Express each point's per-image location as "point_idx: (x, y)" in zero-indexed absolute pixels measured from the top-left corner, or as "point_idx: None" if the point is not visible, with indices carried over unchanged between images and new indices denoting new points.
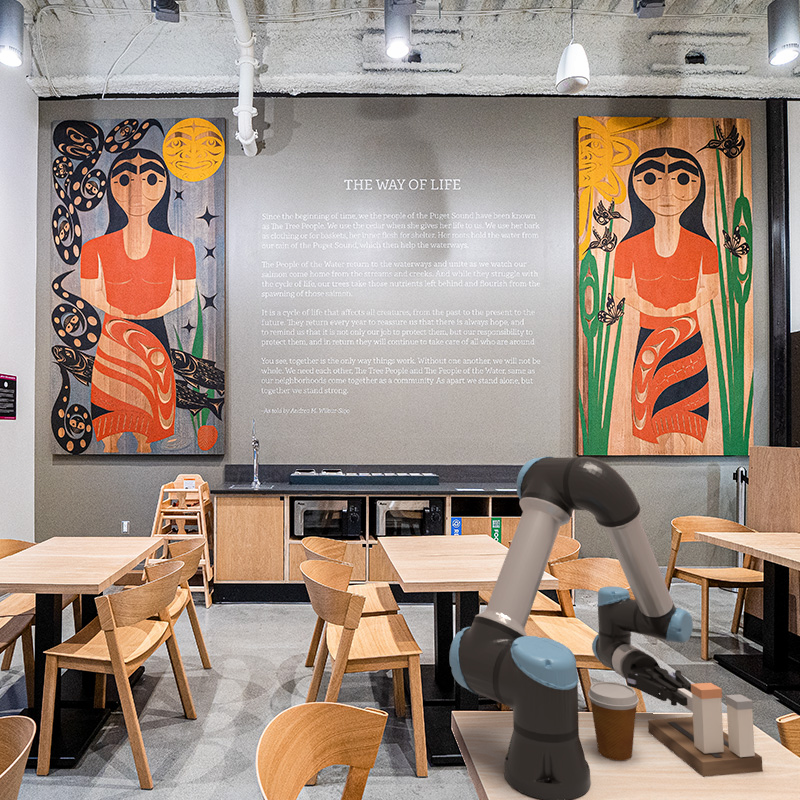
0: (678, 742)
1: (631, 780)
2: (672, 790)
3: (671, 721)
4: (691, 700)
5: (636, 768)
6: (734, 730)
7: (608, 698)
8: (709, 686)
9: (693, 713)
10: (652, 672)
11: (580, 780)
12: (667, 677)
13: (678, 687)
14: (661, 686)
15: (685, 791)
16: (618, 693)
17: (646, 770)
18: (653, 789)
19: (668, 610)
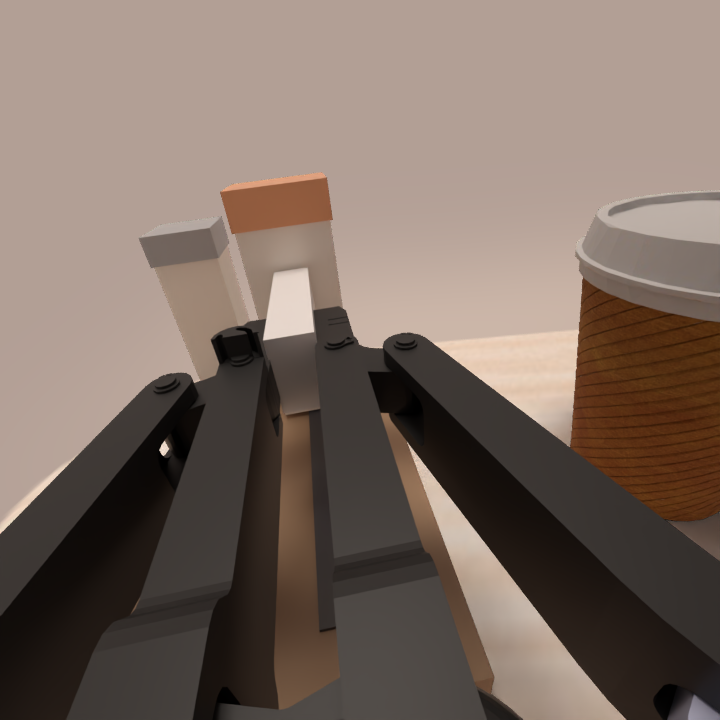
0: (396, 428)
1: (559, 360)
2: (466, 345)
3: (329, 652)
4: (311, 295)
5: (549, 397)
6: (245, 320)
7: (717, 195)
8: (262, 182)
9: (341, 300)
10: (391, 718)
11: None
12: (195, 579)
13: (264, 392)
14: (410, 357)
15: (440, 345)
16: (695, 219)
17: (519, 393)
18: (507, 343)
19: None
